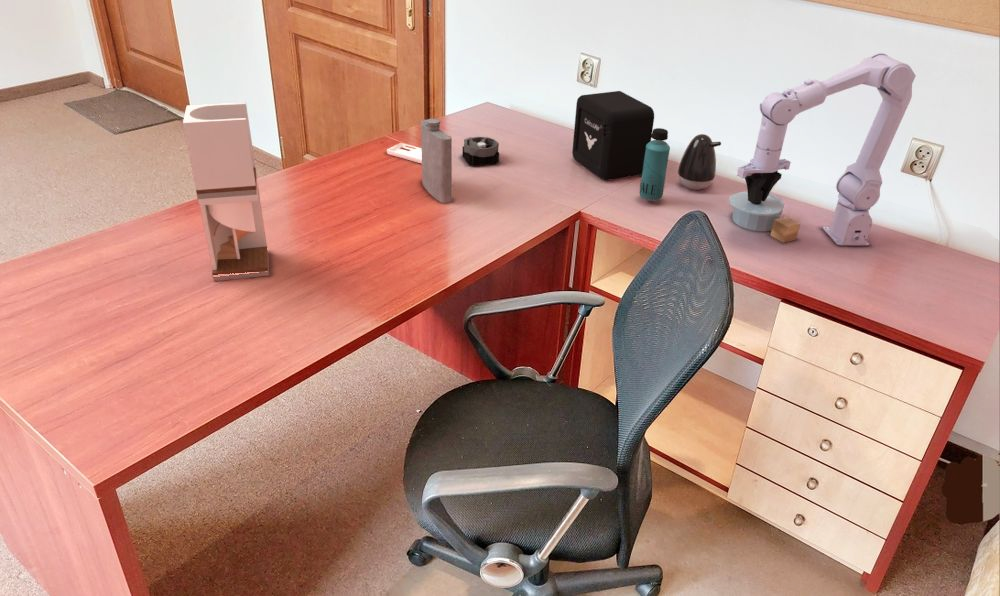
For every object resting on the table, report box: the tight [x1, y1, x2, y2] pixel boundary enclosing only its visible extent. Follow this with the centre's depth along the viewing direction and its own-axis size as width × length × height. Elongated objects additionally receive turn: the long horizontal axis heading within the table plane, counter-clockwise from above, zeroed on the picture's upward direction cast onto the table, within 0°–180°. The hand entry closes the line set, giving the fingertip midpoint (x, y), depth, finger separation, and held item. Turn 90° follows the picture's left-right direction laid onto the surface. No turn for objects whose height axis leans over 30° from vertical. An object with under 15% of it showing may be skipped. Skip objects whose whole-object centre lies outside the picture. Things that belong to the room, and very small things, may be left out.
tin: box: [731, 191, 785, 232], centre depth 195 cm, size 12×12×6 cm
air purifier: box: [571, 90, 655, 182], centre depth 219 cm, size 20×15×20 cm
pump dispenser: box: [677, 133, 722, 191], centre depth 210 cm, size 10×10×15 cm
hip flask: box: [420, 118, 453, 204], centre depth 200 cm, size 16×4×20 cm, turn 26°
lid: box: [728, 188, 784, 216], centre depth 182 cm, size 13×13×5 cm
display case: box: [182, 102, 270, 282], centre depth 159 cm, size 11×11×35 cm
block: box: [770, 216, 801, 244], centre depth 188 cm, size 4×4×4 cm
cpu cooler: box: [462, 136, 500, 167], centre depth 224 cm, size 10×6×10 cm
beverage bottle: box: [639, 127, 671, 201], centre depth 200 cm, size 6×7×20 cm
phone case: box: [386, 142, 422, 165], centre depth 227 cm, size 7×1×15 cm
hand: (756, 200), depth 182 cm, fingers closed on lid, 2 cm apart
